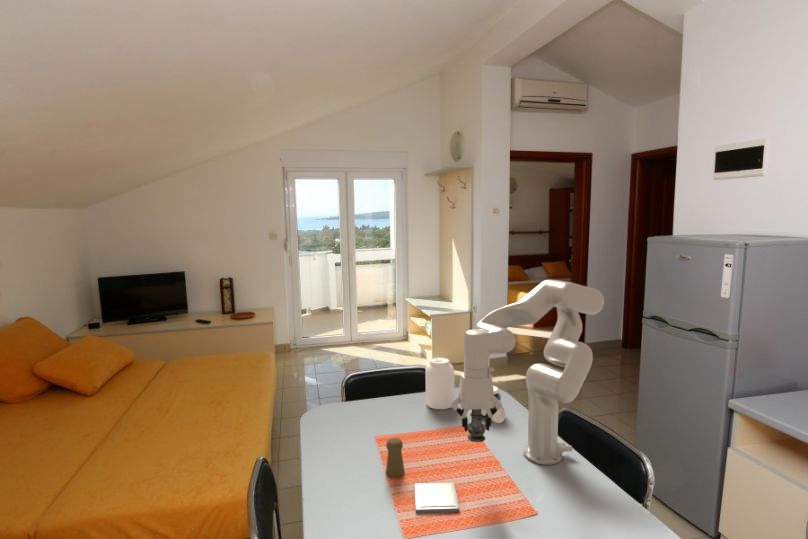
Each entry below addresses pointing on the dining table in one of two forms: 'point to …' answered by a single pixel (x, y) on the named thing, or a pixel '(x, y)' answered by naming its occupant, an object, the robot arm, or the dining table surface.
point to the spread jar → (500, 413)
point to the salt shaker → (476, 427)
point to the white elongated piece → (440, 383)
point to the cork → (394, 458)
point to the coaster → (436, 498)
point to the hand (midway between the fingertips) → (476, 428)
